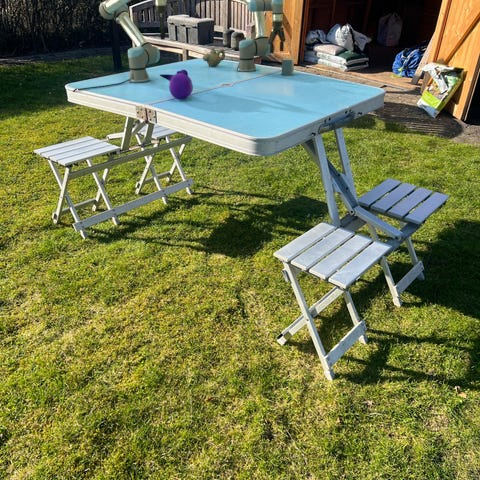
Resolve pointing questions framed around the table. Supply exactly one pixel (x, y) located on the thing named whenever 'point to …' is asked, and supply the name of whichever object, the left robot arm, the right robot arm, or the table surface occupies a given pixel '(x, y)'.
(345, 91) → the table surface
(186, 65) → the table surface
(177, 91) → the toy
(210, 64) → the teapot
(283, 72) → the block
